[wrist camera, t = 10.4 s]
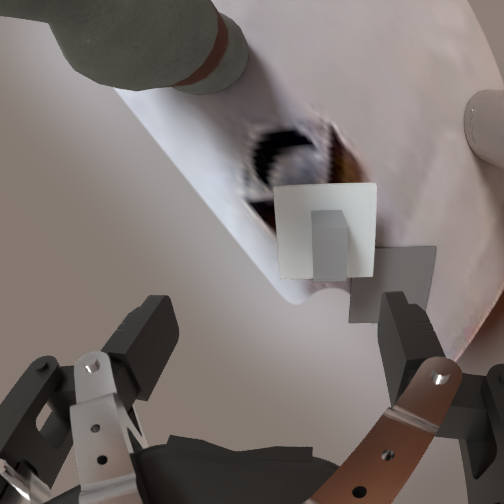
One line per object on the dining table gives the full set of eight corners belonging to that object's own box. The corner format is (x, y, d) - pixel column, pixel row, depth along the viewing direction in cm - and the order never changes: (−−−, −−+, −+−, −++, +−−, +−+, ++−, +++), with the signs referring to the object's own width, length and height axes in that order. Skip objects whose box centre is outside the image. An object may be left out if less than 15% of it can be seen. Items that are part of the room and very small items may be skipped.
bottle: (268, 70, 31) (123, -63, 4) (197, 111, 34) (-55, 161, 7) (226, 6, 28) (48, -148, 1) (159, 48, 31) (-84, 13, 4)
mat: (435, 246, 36) (436, 247, 35) (422, 317, 40) (423, 319, 40) (352, 248, 38) (353, 249, 37) (348, 321, 42) (348, 323, 42)
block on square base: (375, 182, 29) (389, 198, 24) (371, 274, 33) (381, 302, 28) (273, 185, 31) (267, 201, 26) (280, 276, 35) (275, 305, 30)
